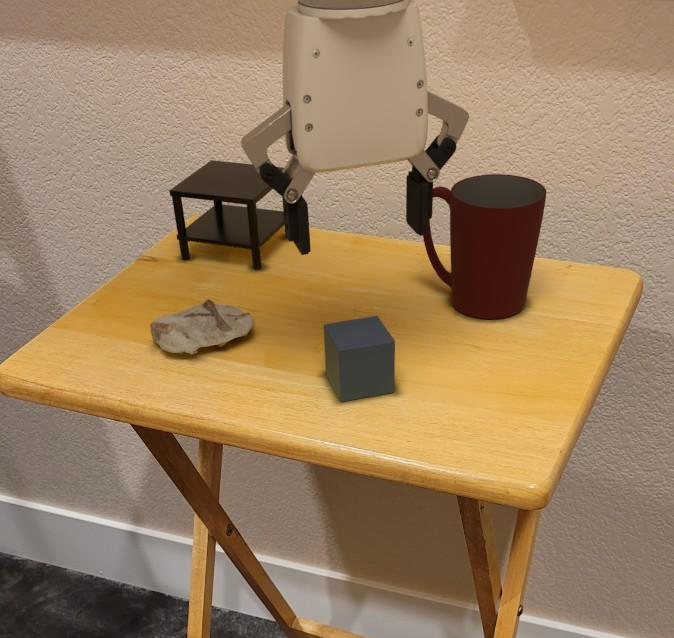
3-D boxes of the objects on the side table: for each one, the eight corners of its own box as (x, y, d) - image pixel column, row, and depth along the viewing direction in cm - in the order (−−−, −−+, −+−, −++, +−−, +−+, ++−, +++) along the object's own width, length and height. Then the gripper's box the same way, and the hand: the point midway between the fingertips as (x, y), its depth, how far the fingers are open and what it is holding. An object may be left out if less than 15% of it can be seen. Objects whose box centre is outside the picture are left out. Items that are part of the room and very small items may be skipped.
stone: (231, 312, 90) (227, 287, 88) (264, 340, 86) (262, 314, 84) (144, 338, 87) (138, 313, 85) (174, 369, 82) (169, 343, 80)
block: (340, 402, 77) (338, 350, 74) (325, 374, 81) (323, 323, 77) (394, 392, 78) (395, 340, 75) (377, 365, 82) (377, 315, 78)
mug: (402, 306, 90) (404, 194, 82) (437, 272, 96) (443, 165, 88) (513, 330, 86) (527, 214, 78) (544, 293, 91) (559, 181, 84)
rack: (259, 270, 97) (253, 199, 92) (180, 259, 100) (169, 190, 95) (294, 236, 104) (290, 168, 99) (219, 226, 107) (211, 160, 101)
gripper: (453, -40, 63) (444, 206, 75) (215, -15, 60) (244, 238, 72) (495, -23, 58) (478, 239, 69) (236, 6, 55) (265, 275, 66)
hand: (359, 238), depth 71 cm, fingers open, 9 cm apart
